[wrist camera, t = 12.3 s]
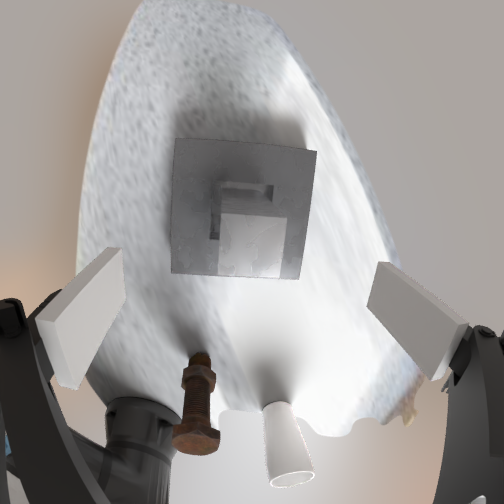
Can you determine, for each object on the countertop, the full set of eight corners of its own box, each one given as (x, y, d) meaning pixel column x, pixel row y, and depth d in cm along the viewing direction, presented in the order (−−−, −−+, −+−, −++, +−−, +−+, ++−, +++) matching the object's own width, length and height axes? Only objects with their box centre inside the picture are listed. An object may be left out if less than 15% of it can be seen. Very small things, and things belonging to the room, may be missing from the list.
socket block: (291, 267, 34) (298, 279, 31) (176, 261, 32) (171, 273, 29) (307, 151, 30) (317, 151, 26) (180, 140, 28) (175, 138, 25)
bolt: (226, 359, 38) (231, 446, 24) (205, 377, 39) (202, 460, 25) (194, 338, 36) (185, 427, 22) (174, 358, 37) (159, 442, 23)
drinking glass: (294, 417, 45) (312, 483, 31) (257, 421, 44) (268, 490, 30) (297, 394, 42) (319, 467, 28) (257, 399, 42) (269, 475, 28)
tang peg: (256, 225, 31) (279, 278, 18) (220, 223, 31) (217, 275, 18) (259, 190, 30) (287, 218, 17) (222, 187, 30) (221, 213, 17)
